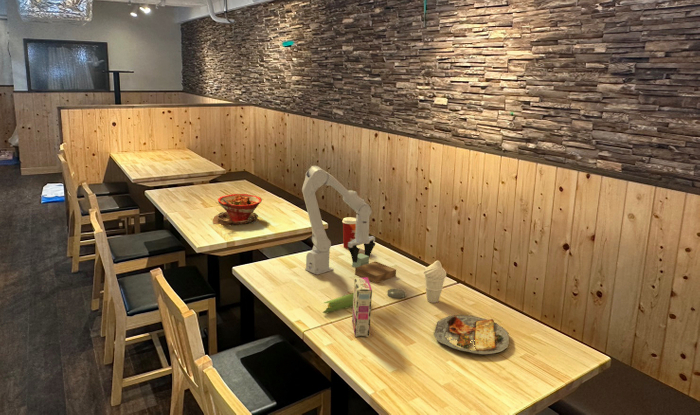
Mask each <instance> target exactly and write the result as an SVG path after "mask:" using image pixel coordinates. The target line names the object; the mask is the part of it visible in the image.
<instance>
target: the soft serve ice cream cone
mask: <svg viewBox="0 0 700 415" xmlns="http://www.w3.org/2000/svg"><path fill="white" fill-rule="evenodd" d="M423 270H424V271H423V274H424V280H425V283H424V284H425V285H424V288H425V293H426V300H427V302H429V303H432V304H438V303H439V300H440V297H441V293H442V292H443V289H444V287H443V286H444V282H445V279H446V278H447V272H446V270H445V269H444V267H442V263H441V261H440V260H436V261H435V260H434V262H433V263H432V264H430V265H429V266H426V267H425V269H423Z"/></svg>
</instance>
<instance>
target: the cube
mask: <svg viewBox="0 0 700 415" xmlns="http://www.w3.org/2000/svg"><path fill="white" fill-rule="evenodd" d="M369 263H370V258H369V256H367V255H365V253H358V258H357V262H356V263H355V262H353V261H352V265H351V266H352V267H353V268H356V267H359V266H362V265H365V264H369Z"/></svg>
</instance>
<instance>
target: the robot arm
mask: <svg viewBox="0 0 700 415" xmlns="http://www.w3.org/2000/svg"><path fill="white" fill-rule="evenodd" d="M323 185H325V186H330V187H331V188H333V189H334V190H335V191H337V192H338V193H339V195H341V196H342V200H343V202H344V203H345V204H346V205H347V206H349V207H350V209H352V210H353V211H354V212H355V213H356V215H355V218H356V232H355V239H354V240H352V241H351V242H348V251H349V254H350V255H351V262H352V263H353V262H355V263H356V262H357V258H358V254H359V252H360V248H359V247H358V246H361V245H363V246H364V255H367V256H369V259H370V257H371V255H372V252H373V249H374V248H375V246H376V237H375V236H373V235H371V236H370V235H369V233H370V216H371V215H372V213H373V211H372V209H371V208H372V207H371V206H370V205H369V204H368V203H366V201H365V199H364V198H361V197H360V195H358V194H359V193H358V192H357V191H355V190H352V189H351V190H348V189H347V188H346V187H345V186H344V185H343V184H342V183H341V182H340V181H339V180H337V179H336V177H334V176H333V175H332V174H330V173H329V172H327V171H326V170H324V169H322V168H321V167H320V166H319V165H311V166H310V168H308V170H307V171H306V172H305V178H304V181H303V184H302V188H301V192H302V196H303V199H304V200H303V201H304V203H305V207H306V210H307V215H308V219H309V222H310V225H311V232H312V235H311V242H312V243H313V246H312V249H311V251H309V252H308V253H307V254H306V259H305V262H306V264H305V268H304V270H306V271H307V272H310V273H312V274H314V275H316V276H317V275H320V274H324V273H328V272H330V271H333V270H334V268H332V267H330V251H331V250H330V249H331V247H332V241H331V240H330V239H329V238H328V236H327V233H326V230H325V227H324V223H323V220H322V215H321V212H320V207H319V203H318V200H317V196H316V192H317V191H318V190H319V188H320V187H322V186H323Z"/></svg>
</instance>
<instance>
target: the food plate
mask: <svg viewBox="0 0 700 415" xmlns="http://www.w3.org/2000/svg"><path fill="white" fill-rule="evenodd" d="M470 332H471V333H472V334H471V333H470ZM433 336H434V338H435V339H436V341H437V342H439V343H441V344H443V345H446V346H448V347H449V348H451V349H454V350H458V351H460V352H467V353H471V354H477V355H478V354H479V355H490V354H496V353H500V352H503V351H504V350H506V349H508V347H509V344H510V343H509V342H510V341H509V339H510V338H509V337H510V336H509V332H508V331H507V330H506V328H504V327H502V326H501V325H499V324H498V323H497V322H495V320H494V319H492V318H491V319H486V318H482V317H478V316H475V315H469V314H467V315H465V314H459V315H458V314H457V315H455V314H453V315H448V316H446V317H444V318H440V319H439V320H438V321H437V322H436V326H435V329H434V332H433ZM471 336H472V337H471ZM456 340H457V341H456ZM471 340H473V341H471ZM474 340H475V341H474ZM451 341H456V345H455V344H454V343H453V342H451ZM470 341H471V342H472V343H473V342H474V345H475V346H474V345H473V346H474V347H475V349H476V350H474V349H469V348H470V346H471V344H470ZM460 346H461V347H460ZM462 347H463V348H462ZM468 347H469V348H468ZM474 347H473V348H474Z"/></svg>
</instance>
